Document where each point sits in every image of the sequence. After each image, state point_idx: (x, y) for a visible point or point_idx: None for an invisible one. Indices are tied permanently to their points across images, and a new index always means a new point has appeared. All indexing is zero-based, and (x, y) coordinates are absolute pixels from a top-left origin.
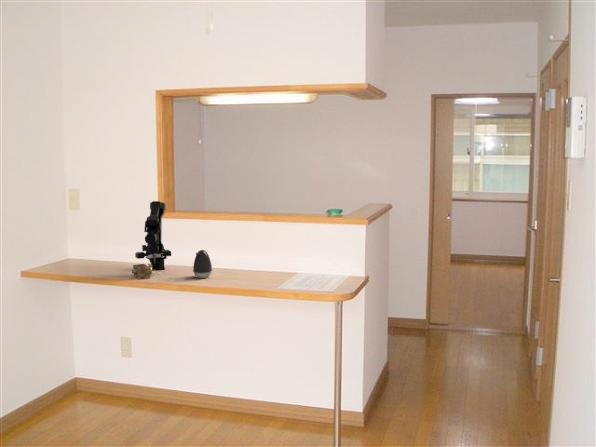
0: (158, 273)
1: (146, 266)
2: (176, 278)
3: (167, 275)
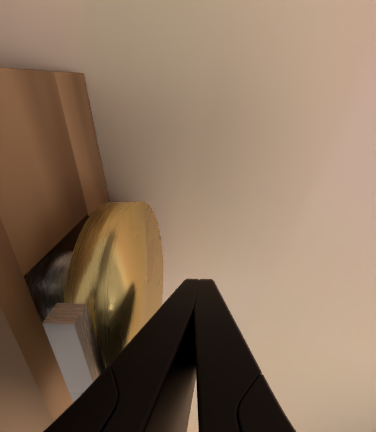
0: (326, 83)
1: (25, 411)
2: (372, 429)
3: (372, 285)
